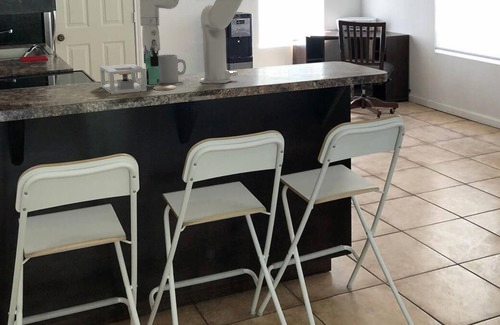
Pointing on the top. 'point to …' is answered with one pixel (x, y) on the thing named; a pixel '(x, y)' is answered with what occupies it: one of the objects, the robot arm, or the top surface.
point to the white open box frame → (122, 85)
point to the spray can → (151, 71)
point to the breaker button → (125, 76)
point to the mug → (170, 68)
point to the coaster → (164, 87)
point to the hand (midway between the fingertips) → (151, 64)
